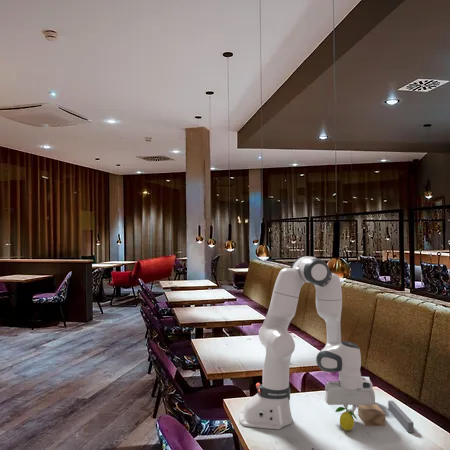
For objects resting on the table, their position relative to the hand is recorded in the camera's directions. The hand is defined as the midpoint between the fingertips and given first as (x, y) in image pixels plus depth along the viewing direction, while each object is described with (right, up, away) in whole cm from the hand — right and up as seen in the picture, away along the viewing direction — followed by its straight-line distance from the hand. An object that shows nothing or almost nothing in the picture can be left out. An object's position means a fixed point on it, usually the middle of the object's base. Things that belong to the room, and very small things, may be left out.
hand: (349, 414), depth 186 cm
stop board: (+21, -2, 0) cm, 21 cm away
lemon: (-4, -2, -10) cm, 11 cm away
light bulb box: (+11, -3, +18) cm, 21 cm away
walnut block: (+9, -2, 0) cm, 9 cm away
